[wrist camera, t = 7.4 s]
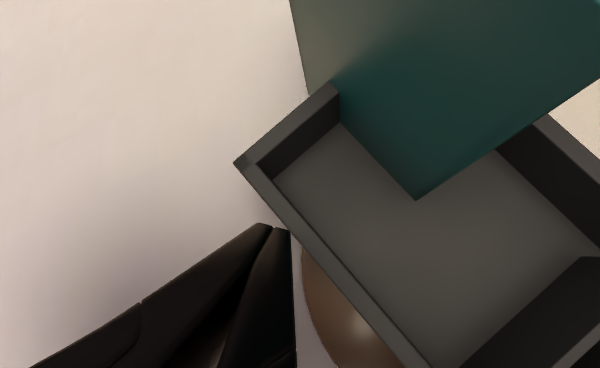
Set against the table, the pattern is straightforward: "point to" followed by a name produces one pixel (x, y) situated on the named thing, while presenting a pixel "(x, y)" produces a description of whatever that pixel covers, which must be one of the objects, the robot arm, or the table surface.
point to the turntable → (341, 323)
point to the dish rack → (446, 175)
